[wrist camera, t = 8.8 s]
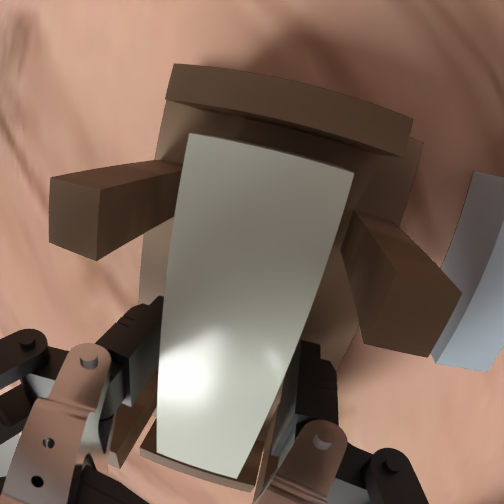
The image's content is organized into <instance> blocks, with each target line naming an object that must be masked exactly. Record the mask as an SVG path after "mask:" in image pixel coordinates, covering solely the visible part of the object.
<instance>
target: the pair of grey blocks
mask: <svg viewBox="0 0 504 504" xmlns="http://www.w3.org/2000/svg"><path fill="white" fill-rule="evenodd" d="M441 270H442V271H443V272H444V273H445V274H446V275H447V276H448V277H449V279H450V280H451V281H452V282H453V283H454V284H455V285H456V286H457V287H458V288H459V290H460V291H461V292H462V295H461V297H460V299H459V301H458V304H457V306H456V308H455V310H454V311H453V313H452V315H451V317H450V319H449V321H448V323H447V325H446V327H445V329H444V330H443V332H442V334H441V336H440V338H439V339H438V341H437V343H436V344H435V346H434V348H433V350H432V351H431V355H432V357H433V359H434V361H435V363H436V364H440V365H446V366H451V367H457V368H463V369H469V370H475V371H482V372H487V371H488V370H489V369H490V367H491V365H492V364H493V362H494V361H495V359H496V358H497V356H498V355H499V353H500V351H501V350H502V348H503V346H504V177H500V176H495V175H491V174H486V173H481V172H477V171H474V172H473V176H472V180H471V184H470V187H469V191H468V194H467V197H466V201H465V204H464V207H463V210H462V213H461V216H460V219H459V222H458V225H457V228H456V231H455V234H454V236H453V239H452V242H451V244H450V247H449V250H448V252H447V255H446V257H445V260H444V262H443V265H442V267H441Z"/></svg>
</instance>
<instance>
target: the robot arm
mask: <svg viewBox="0 0 504 504" xmlns="http://www.w3.org/2000/svg"><path fill="white" fill-rule="evenodd" d="M163 303H164V297H163V296H160V295H159V296H158V297H157V298H156V299H155V300H154V301H153V302H152V303H151V304H150V305H146V304H144V303H142V304H139V305H137V306H134V307H132V308H131V309H130V310H128V311H127V312H126V313H125V314H124V316H123V317H121V318H120V319H119V320H118V321H117V323H115V324H114V325H113V326H112V327H111V328H110V329H109V330H108V331H107V332H106V333H105V334H104V335H103V336H102V337H101V338H100V339H99V340H98V341H97V342H96V343H95V344H92V343H84V344H79V345H77V346H75V347H73V348H72V349H71V350H70V351H65V350H61V349H57V348H53V347H49V346H48V343H47V339H46V337H45V335H44V334H43V333H42V332H40V331H38V330H35V329H23V330H20V331H17V332H15V333H13V334H11V335H8V336H6V337H4V338H2V339H0V389H2V388H4V387H6V386H8V385H10V384H11V383H13V382H15V381H17V380H19V379H20V381H21V384H20V385H18V386H17V387H15V388H13V389H11V390H9V391H8V392H6V393H4V394H2V395H0V444H2V443H4V442H5V441H7V440H9V439H10V438H12V437H13V436H15V435H16V434H18V433H20V432H21V431H22V434H21V436H20V439H19V442H18V444H17V447H16V450H15V453H14V456H13V458H12V461H11V464H10V468H9V471H8V474H7V476H5V477H0V504H149V503H148V502H146V501H145V500H143V499H142V498H140V497H139V496H138V495H136V494H135V493H134V492H132V491H131V490H129V489H128V488H127V487H126V486H124V485H123V484H122V483H120V482H118V481H116V480H114V479H112V478H110V477H109V476H108V457H109V452H110V446H111V441H112V436H113V431H114V426H115V421H116V416H117V412H116V410H117V409H118V408H119V406H120V405H121V403H123V404H125V405H127V406H130V407H132V406H133V404H134V403H135V401H136V400H137V398H138V397H139V395H140V394H141V392H142V391H143V389H144V388H145V386H146V385H147V383H148V382H149V380H150V379H151V377H152V376H153V374H154V373H155V371H156V370H157V368H158V367H159V353H160V338H161V325H162V314H163ZM336 383H337V377H336V370H335V369H334V367H333V365H332V363H331V362H330V361H328V360H324V359H321V347H320V344H317V343H313V342H309V341H305V340H301V339H300V341H299V343H298V345H297V347H296V350H295V352H294V355H293V357H292V360H291V362H290V364H289V367H288V369H287V372H286V375H285V378H284V382H283V386H282V393H281V399H280V405H279V411H278V417H277V423H276V429H275V434H274V440H273V445H272V451H271V455H273V456H278V457H279V462H278V466H277V468H276V469H275V471H274V472H273V474H272V475H271V477H270V478H269V480H268V481H267V483H266V484H265V486H264V487H263V489H262V490H261V492H260V493H259V495H258V496H257V498H256V499H255V501H254V502H253V503H252V504H429V503H428V501H427V498H426V496H425V494H424V492H423V489H422V487H421V485H420V483H419V481H418V478H417V476H416V474H415V472H414V470H413V468H412V465H411V463H410V461H409V459H408V458H407V457H406V456H405V455H404V454H403V453H402V452H400V451H398V450H396V449H393V448H383V449H380V450H378V451H376V452H375V453H374V454H371V453H368V452H366V451H364V450H361V449H359V448H356V447H354V446H353V445H351V444H350V443H348V441H347V437H346V434H345V433H344V431H343V430H342V429H341V428H340V427H339V423H338V396H337V384H336Z"/></svg>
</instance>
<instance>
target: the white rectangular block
mask: <svg viewBox="0 0 504 504" xmlns="http://www.w3.org/2000/svg"><path fill="white" fill-rule="evenodd" d="M353 177H354V173H353V172H351V171H349V170H347V169H345V168H343V167H341V166H339V165H337V164H334V163H330V162H327V161H323V160H320V159H316V158H313V157H309V156H306V155H302V154H298V153H294V152H291V151H287V150H283V149H279V148H275V147H270V146H266V145H262V144H258V143H253V142H249V141H244V140H240V139H235V138H228V137H220V136H212V135H203V134H194V133H189V138H188V142H187V147H186V152H185V158H184V163H183V168H182V174H181V179H180V185H179V191H178V197H177V203H176V209H175V215H174V222H173V229H172V236H171V243H170V250H169V258H168V266H167V275H166V284H165V293H164V303H163V314H162V325H161V338H160V353H159V370H158V394H157V453H160V454H162V455H165V456H167V457H170V458H173V459H175V460H178V461H181V462H184V463H186V464H189V465H192V466H195V467H198V468H201V469H204V470H208V471H211V472H214V473H218V474H221V475H225V476H228V477H232V478H236V479H237V477H238V475H239V473H240V471H241V469H242V467H243V465H244V463H245V461H246V459H247V457H248V455H249V453H250V451H251V449H252V447H253V445H254V443H255V441H256V438H257V436H258V434H259V432H260V430H261V428H262V426H263V423H264V421H265V419H266V417H267V415H268V412H269V410H270V408H271V406H272V403H273V401H274V399H275V397H276V394H277V392H278V390H279V387H280V385H281V383H282V380H283V378H284V375H285V373H286V371H287V368H288V366H289V363H290V361H291V358H292V356H293V353H294V351H295V348H296V346H297V343H298V341H299V338H300V336H301V333H302V331H303V328H304V325H305V323H306V320H307V317H308V315H309V312H310V309H311V307H312V304H313V301H314V298H315V296H316V293H317V290H318V287H319V284H320V282H321V279H322V276H323V273H324V270H325V267H326V264H327V261H328V258H329V255H330V252H331V249H332V246H333V243H334V240H335V237H336V234H337V230H338V227H339V224H340V221H341V218H342V214H343V211H344V208H345V204H346V201H347V198H348V194H349V191H350V187H351V184H352V180H353Z"/></svg>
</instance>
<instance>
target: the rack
mask: <svg viewBox="0 0 504 504" xmlns="http://www.w3.org/2000/svg"><path fill="white" fill-rule="evenodd" d="M165 99H166V105H165V109H164V114H163V118H162V123H161V128H160V133H159V138H158V143H157V148H156V154H155V159H154V160H152V161H145V162H137V163H130V164H123V165H116V166H110V167H104V168H98V169H92V170H86V171H81V172H76V173H70V174H65V175H60V176H56V177H51V178H50V194H49V242H50V243H52V244H55V245H57V246H59V247H62V248H64V249H67V250H69V251H72V252H74V253H77V254H79V255H82V256H84V257H87V258H90V259H92V260H95V261H97V260H99V259H101V258H102V257H104V256H106V255H107V254H109V253H111V252H112V251H114V250H116V249H118V248H119V247H121V246H123V245H124V244H126V243H128V242H130V241H131V240H133V239H135V238H137V237H138V236H140V235H142V234H144V238H143V248H142V258H141V270H140V284H139V301H138V305H139V304H142V303H144V304H146V305H150V304H151V303H152V302H153V301H154V300H155V299H156V298H157V297H158V296H159V295H160V296H163V297H164V293H165V284H166V275H167V266H168V258H169V250H170V243H171V236H172V229H173V222H174V215H175V209H176V203H177V197H178V191H179V185H180V179H181V174H182V168H183V163H184V158H185V152H186V147H187V142H188V138H189V133H194V134H203V135H212V136H220V137H228V138H235V139H240V140H244V141H249V142H253V143H258V144H262V145H266V146H270V147H275V148H279V149H283V150H287V151H291V152H294V153H298V154H302V155H306V156H309V157H313V158H316V159H320V160H323V161H327V162H330V163H334V164H337V165H339V166H341V167H343V168H345V169H347V170H349V171H351V172H353V173H354V177H353V180H352V184H351V187H350V191H349V194H348V198H347V201H346V204H345V208H344V211H343V214H342V218H341V221H340V224H339V227H338V230H337V234H336V237H335V240H334V243H333V246H332V249H331V252H330V255H329V258H328V261H327V264H326V267H325V270H324V273H323V276H322V279H321V282H320V284H319V287H318V290H317V293H316V296H315V298H314V301H313V304H312V307H311V309H310V312H309V315H308V317H307V320H306V323H305V325H304V328H303V331H302V333H301V336H300V338H299V341H300V339H301V340H305V341H309V342H313V343H317V344H320V347H321V359H324V360H328V361H330V362H331V363H332V365H333V367H334V369H335V370H337V368H338V366H339V364H340V362H341V360H342V359H343V357H344V355H345V353H346V351H347V349H348V347H349V345H350V343H351V341H352V338H353V336H354V334H355V332H356V330H357V328H358V326H359V324H360V329H361V333H362V338H363V342H364V344H367V345H371V346H376V347H380V348H385V349H389V350H394V351H398V352H403V353H407V354H412V355H417V356H422V357H427V358H428V356H429V355H430V353H431V351H432V350H433V348H434V346H435V344H436V343H437V341H438V339H439V338H440V336H441V334H442V332H443V330H444V329H445V327H446V325H447V323H448V321H449V319H450V317H451V315H452V313H453V311H454V310H455V308H456V306H457V304H458V301H459V299H460V297H461V295H462V292H461V291H460V290H459V288H458V287H457V286H456V285H455V284H454V283H453V282H452V281H451V280H450V279H449V277H448V276H447V275H446V274H445V273H444V272H443V271H442V270H441V269H440V268H439V267H438V266H437V265H436V264H435V263H434V262H433V261H432V260H431V259H430V258H429V257H428V256H427V254H426V253H425V252H424V251H423V250H422V249H421V248H420V247H419V246H418V245H416V244H415V243H414V242H413V241H412V240H411V239H410V238H409V237H408V236H407V235H406V234H405V233H404V232H403V231H402V230H401V229H400V228H399V224H400V222H401V219H402V216H403V213H404V210H405V206H406V203H407V200H408V197H409V194H410V190H411V187H412V184H413V180H414V177H415V173H416V170H417V166H418V162H419V159H420V155H421V151H422V147H423V143H424V142H421V141H419V140H416V139H414V138H412V137H409V135H410V131H411V126H412V122H413V119H412V118H410V117H407V116H405V115H402V114H399V113H397V112H394V111H392V110H389V109H386V108H384V107H381V106H378V105H375V104H372V103H369V102H366V101H363V100H360V99H357V98H354V97H351V96H348V95H345V94H341V93H338V92H334V91H331V90H327V89H324V88H320V87H316V86H312V85H308V84H304V83H300V82H296V81H291V80H287V79H282V78H278V77H273V76H268V75H262V74H257V73H251V72H245V71H239V70H232V69H225V68H217V67H209V66H199V65H188V64H175V63H174V65H173V69H172V73H171V77H170V81H169V85H168V89H167V93H166V97H165ZM299 341H298V343H299ZM298 343H297V345H298ZM296 347H297V346H296ZM295 350H296V348H295ZM294 352H295V351H294ZM293 355H294V353H293ZM292 357H293V356H292ZM291 360H292V358H291ZM290 362H291V361H290ZM289 364H290V363H289ZM288 367H289V366H288ZM287 369H288V368H287ZM158 370H159V367H158V368H157V370H156V371H155V373H154V374H153V376H152V377H151V379H150V380H149V382H148V383H147V385H146V386H145V388H144V389H143V391H142V392H141V394H140V395H139V397H138V398H137V400H136V401H135V403H134V404H133V406H132V407H130V406H127V405H125V404H123V403H121V405H120V406H119V408H118V409H117V410H116V412H117V416H116V421H115V426H114V431H113V436H112V441H111V446H110V452H109V457H108V464H110V465H112V466H114V467H116V468H118V469H120V468H121V467H122V465H123V463H124V461H125V460H126V458H127V456H128V455H129V453H130V451H131V449H132V448H133V446H134V444H135V443H136V441H137V439H138V437H139V436H140V434H141V432H142V431H143V429H144V427H145V425H146V424H147V422H148V420H149V419H150V417H151V415H152V416H155V417H157V394H158ZM286 372H287V371H286ZM285 375H286V373H285ZM285 375H284V378H285ZM284 378H283V380H282V383H281V385H280V387H279V390H278V392H277V394H276V397H275V399H274V401H273V403H272V406H271V408H270V410H269V412H268V415H267V417H266V419H265V421H264V423H263V426H262V428H261V430H260V432H259V434H258V436H257V438H256V441H255V443H254V445H253V447H252V449H251V451H250V453H249V455H248V457H247V459H246V461H245V463H244V465H243V467H242V469H241V471H240V473H239V475H238V477H237V479H236V478H232V477H228V476H225V475H221V474H218V473H214V472H211V471H208V470H204V469H201V468H198V467H195V466H192V465H189V464H186V463H184V462H181V461H178V460H175V459H173V458H170V457H167V456H165V455H162V454H160V453H157V418H156V420H155V421H154V423H153V425H152V427H151V428H150V430H149V432H148V434H147V435H146V437H145V439H144V441H143V443H142V444H141V446H140V456H142V457H144V458H146V459H149V460H151V461H153V462H156V463H158V464H161V465H163V466H166V467H168V468H171V469H174V470H176V471H179V472H182V473H185V474H188V475H191V476H194V477H197V478H200V479H203V480H206V481H209V482H212V483H216V484H219V485H223V486H226V487H230V488H234V489H238V490H242V491H246V492H251V491H252V490H253V488H254V487H255V484H256V479H257V475H258V470H259V466H260V461H261V457H262V452H264V453H263V458H262V463H261V467H260V472H259V477H258V481H257V486H256V490H255V494H254V499H253V502H254V501H255V499H256V498H257V496H258V495H259V493H260V492H261V490H262V489H263V487H264V486H265V484H266V483H267V481H268V480H269V478H270V477H271V475H272V474H273V472H274V471H275V469H276V468H277V466H278V462H279V457H278V456H273V455H271V451H272V445H273V440H274V434H275V429H276V423H277V417H278V411H279V405H280V399H281V393H282V386H283V382H284Z"/></svg>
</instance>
